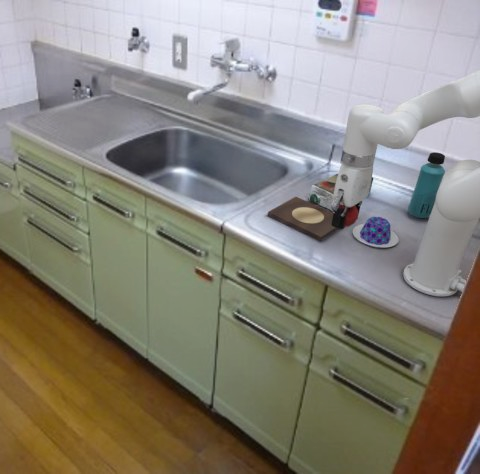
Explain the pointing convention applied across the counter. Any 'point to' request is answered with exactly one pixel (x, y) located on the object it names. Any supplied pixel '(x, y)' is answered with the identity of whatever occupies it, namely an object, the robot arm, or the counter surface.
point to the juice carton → (325, 192)
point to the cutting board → (305, 218)
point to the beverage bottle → (427, 186)
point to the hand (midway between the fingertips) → (344, 222)
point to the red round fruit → (350, 215)
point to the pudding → (376, 233)
